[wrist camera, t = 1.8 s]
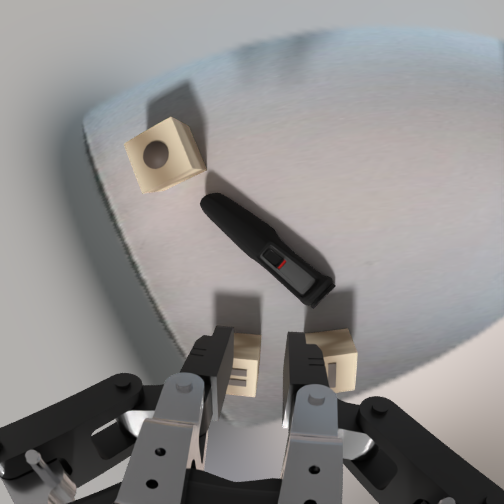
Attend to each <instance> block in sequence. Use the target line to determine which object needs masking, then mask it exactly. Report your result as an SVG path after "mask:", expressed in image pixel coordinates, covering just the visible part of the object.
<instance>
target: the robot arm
mask: <svg viewBox="0 0 504 504" xmlns="http://www.w3.org/2000/svg"><path fill="white" fill-rule="evenodd" d="M233 359H234V328H233V327H225V326H216V328H215V330H214V333H213V335H212V336H206V335H203V336H202V337H201V338H199V339H198V340H196V342H195V344H194V346H193V348H192V350H191V351H190V354H189V355H188V357H187V359H186V361H185V363H184V365H183V367H182V369H181V371H180V373H177V374H174V375H172V376H170V377H169V378H167V380H166V381H165V383H164V384H163V385H145V386H144V385H142V381H141V379H140V378H139V377H137V376H136V375H133V374H129V373H120V374H116V375H114V376H111V377H110V378H107V379H105V380H103V381H101V382H99V383H97V384H95V385H93V386H91V387H89V388H87V389H85V390H83V391H81V392H79V393H77V394H75V395H73V396H70V397H68V398H66V399H64V400H62V401H60V402H58V403H56V404H54V405H51V406H49V407H47V408H45V409H43V410H40V411H38V412H36V413H34V414H32V415H29V416H27V417H25V418H23V419H20V420H18V421H16V422H13V423H11V424H9V425H7V426H4V427H1V428H0V479H1V480H2V481H3V482H4V485H5V486H6V488H7V490H8V492H9V494H10V496H11V498H12V500H13V502H14V504H342V487H343V486H342V485H343V464H344V465H345V466H346V467H347V468H348V470H349V471H350V472H351V473H352V474H353V475H354V476H355V477H356V478H357V480H358V481H359V482H360V483H361V484H362V485H363V487H364V488H365V489H366V490H367V491H368V492H369V493H370V494H371V495H372V496H373V497H374V499H375V500H376V501H377V502H379V504H504V490H503V489H502V488H500V487H499V486H498V485H496V484H495V483H494V482H493V481H491V480H490V479H489V478H487V477H486V476H485V475H483V474H482V473H481V472H479V471H478V470H477V469H475V468H474V467H473V466H472V465H470V464H469V463H468V462H467V461H465V460H464V459H463V458H461V457H460V456H459V455H458V454H456V453H455V452H454V451H453V450H451V449H450V448H449V447H448V446H446V445H445V444H444V443H442V442H441V441H440V440H439V439H437V438H436V437H435V436H434V435H433V434H431V433H430V432H429V431H428V430H426V429H425V428H424V427H423V426H422V425H420V424H419V423H418V422H417V421H415V420H414V419H413V418H412V417H411V416H409V415H408V414H407V413H405V412H404V411H403V410H402V409H401V408H400V407H398V406H397V405H396V404H395V403H394V402H392V401H391V400H389V399H387V398H384V397H378V396H374V397H369V398H367V399H365V400H363V401H362V403H361V404H360V405H356V404H351V403H347V402H344V401H341V400H339V399H338V398H337V395H336V393H335V392H334V391H333V390H332V389H330V387H329V382H328V377H327V372H326V367H325V362H324V357H323V352H322V350H321V349H320V348H319V347H318V346H317V345H316V344H306V337H305V333H304V332H288V334H287V342H286V350H285V359H284V368H283V415H282V428H289V435H288V440H287V445H286V450H285V456H284V460H283V465H282V470H281V475H280V479H275V478H272V479H264V480H256V481H245V482H233V481H229V480H226V479H224V478H221V477H218V476H216V475H213V474H210V473H208V472H205V471H204V465H205V455H206V448H207V439H208V428H209V425H210V422H211V420H212V421H219V417H220V413H221V410H222V406H223V402H224V398H225V395H226V391H227V387H228V383H229V380H230V376H231V372H232V368H233ZM115 418H116V420H117V422H115V423H114V424H112V425H110V426H109V427H107V428H105V429H103V430H102V431H100V432H98V433H96V434H95V435H93V436H91V435H92V433H93V432H94V431H95V430H96V429H98V428H100V427H101V426H103V425H105V424H107V423H108V422H110V421H112V420H114V419H115ZM129 456H131V457H130V460H129V463H128V466H127V469H126V472H125V475H124V478H123V481H122V482H120V483H117V484H115V485H113V486H111V487H108V488H106V489H104V490H101V491H99V492H97V493H94V494H91V495H89V496H86V497H84V498H81V499H78V500H75V495H76V488H78V487H80V486H82V485H83V484H85V483H87V482H89V481H90V480H92V479H94V478H95V477H97V476H99V475H100V474H102V473H104V472H105V471H107V470H109V469H110V468H112V467H114V466H115V465H117V464H118V463H120V462H121V461H123V460H125V459H126V458H128V457H129Z"/></svg>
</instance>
